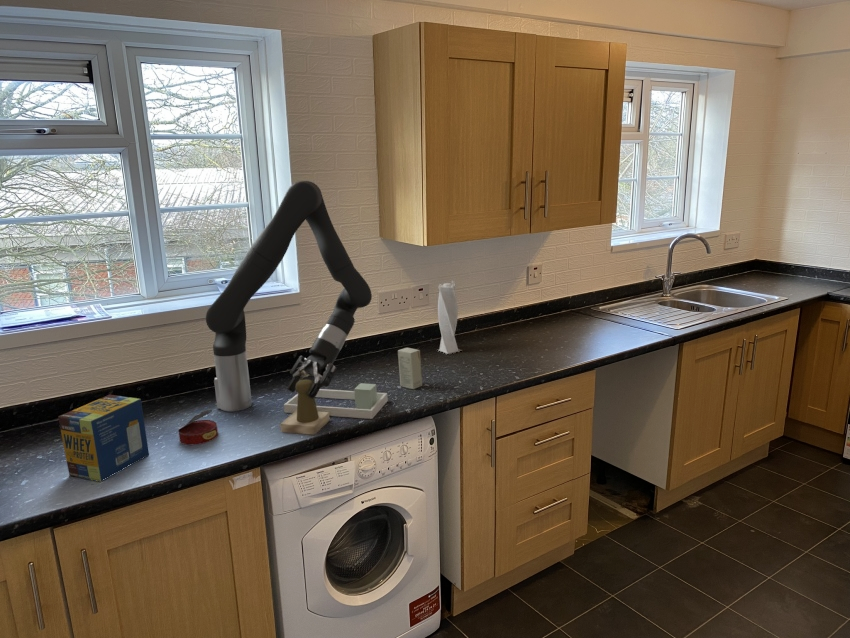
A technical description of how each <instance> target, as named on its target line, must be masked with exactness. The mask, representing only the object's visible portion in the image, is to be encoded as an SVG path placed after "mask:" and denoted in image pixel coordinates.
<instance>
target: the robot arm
mask: <svg viewBox="0 0 850 638" xmlns="http://www.w3.org/2000/svg"><path fill="white" fill-rule="evenodd" d="M325 203H326V202H325V200H324V197H323V193H322V191H321V189H320V187H319V186H318V184H315V182H312V181H309V180H301V181H296V182H294V183H293V184H291V185H290V186H289V187H288V189H287V190H286V192H285V194H284V196H283V198H282V200H281V202H280V205H279V206H278V208H277V209H276V211H275V213H274V215H273V216H272V218H271V220H270V221H269V222H268V223H267V225H266V226H265V227H264V228H263V230H261V232H260V233H259V234H258V236H257V238H256V239H255V240H254V242H253V243H252V244H251V246H250V247H249V249H248V250H247V252H246V253H245V254H244V256H243V258H242V260H241V261H240V262H239V265H238V266H237V268H236V270H235V271H234V273H233V275H232V277H231V279H230V281H229V282H228V284H227V286H226V287H225V288H224V290H222V292H221V294H219V296H218V297H217V298H216V299H215V301H214V302H213V303H212V304H211V305H210V306H209V307H208V309H207V311H206V313H205V323H206V325H207V327H208V328H209V330H211V332H213V333H215V334H214V335H215V336H214V337H215V338H214V341H213V344H212V345H213V346H212V349H213V350H212V351H213V358H214V359H213V360H214V367H215V375H216V377H214V380H213V383H214V389H215V390H214V391H215V400H216V406H217V409H220V410H222V411H224V412H238V411H242V410H246V409H248V408H250V407H251V406H252V395H251V394H252V393H251V385H250V384H251V383H250V374H249V367H248V358H247V349H246V348H247V347H246V343H247V325H246V315H245V311H244V310H245V307H246V306H247V304H248V303H249V302H250V300H251V298H252V297H254V295H255V294H256V293H258V291H259V290H260V289H261V288H262V287H263V286H264V285H265V283H267V282H268V280H270V278H271V276H273V274H274V273H275V271H276V270H277V268H278V267H279V265H280V263H282V261H283V259H284V257H285V255H286V253H287V251H288V249H289V247H290V244H291V242H292V240H293V237H294V236H295V233H296V232H297V231H298V230H299V228H300V227H301V226H302V224H303V223H304V222H305V221H306V223H307V224H308V226H309V227H310V230H311V231H312V233H313V235H314V238H315V240H316V241H315V242H316V244H317V247H318V249H319V253H320V255H321V257H322V260H323V262H324V264H325V266H326V268H327V270H328V271H329V273H330V276H331V277H332V278H333V280H334V281H335V282H339V283H340V284H341V286H343V289H342V290H341V291H340V293H339V295H338V297H337V299H336V302H335V304H334V307H333V311H332V313H331V314H330V316H329V318H328V320H327V321H326V323H325V325H324V326H323V328H321V330H320V332H319V333H318V335H317V336H316V337H315V340H314V342H313V343H312V345H311V347H310V349H309V356H308V357H307V358H306V357H304V356H303V355H300V356H299V357H298V358H297V360H296V361H295V363H294V364H293V366H292V367H291V369H290V371H289V374H290V375H292V379H290V381H289V384H288V386H287V391H289V392H291V393H295V391H296V388H295V386H296V383H297V382H298V381H300V380H304V378H308V377H309V376H310V377H314V383H313V385H312V387H311V388H310V390H309V392H308V394H307V396H308V397H310V398H312V399H314V398H316V397H315V396H316V395H317V393H318V391H319V390H320V389H322V388H323V387H329V385H330V383H331V381H332V379H333V378H334V375H335V373H336V372H337V367H336V365H334V362H335V361H336V359H337V358H338V355H339V353H340V351H341V350H342V348H343V346H344V345H345V342H346V339H347V337H348V335H349V334H350V332H351V330H352V328H353V327H354V324H355V320H356V319H355V313H356V311H357V310H358V309H362V308H365V307H367V306H368V305H369V304H370V303H371V302H372V297H373V296H372V290H371V287H370V286H369V284H368V282H367V281H366V280H365V278H363V276H362V275H361V273H360V272H359V271H358V270H357V269H356V268H355V266H354V263H353V262H352V260H351V257H350V256H349V254H348V251H347V250H346V248H345V247H344V244H343V243H342V240H341V239H340V236H339V235H338V233H337V231H336V229H335V227H334V224H333V222H332V220H331V217H330V216H329V212H328V210H327V207H326V204H325Z"/></svg>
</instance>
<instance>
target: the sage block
mask: <svg viewBox="0 0 850 638" xmlns="http://www.w3.org/2000/svg"><path fill="white" fill-rule="evenodd" d="M353 391H354V393H355V400H354V404H355V405H354V406H355V407H354V408H355V409H369V410H370V409H371V408H372V407H373V406H374V405H375V404H376V403H377V393H378V391H377V384H376V383H365V382H364V383H362V382H361V383H359V384H358V385H357V386H356V387H355V388H354V390H353Z"/></svg>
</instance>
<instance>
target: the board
mask: <svg viewBox="0 0 850 638" xmlns="http://www.w3.org/2000/svg"><path fill="white" fill-rule="evenodd" d="M317 412H318V411H317ZM318 416H319V418H318V419H317V420H316V421H313V422H308V423H302V422H298V421H297V410H296V411H295V412H294V413H290V415H289V416H288V417H286V418H285V419H284V420H283V421H282V422H281V423H280V425H279V426H280V433H288V434H290V433H291V434H303V435H313V436H315V435H316V434H317V433H318V432H319V431H320V430H321V429H322V428H323V427H325V426H326V424H328V422H330V420H331V419H330V418H331V417H330V416H329V412H318Z"/></svg>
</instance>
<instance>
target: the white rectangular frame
mask: <svg viewBox="0 0 850 638" xmlns="http://www.w3.org/2000/svg"><path fill="white" fill-rule="evenodd" d="M314 398H319V399H320V398H323V399H336V400H337V399H339V400H350V401H351V400H352V401H355V393H354V390H343V389H342V390H340V389H327V388H326V389H325V388H324V389H323V388H320V390H319V391H318V393H317V395H316V396H315V397H314ZM387 402H388V393H387V392H377V403H376V404H375V405H374V406H373V407H372V408H371V409H370V410H369V409H356V408H355V407H354V408H353V407H352V408H351V407H340V406H339V407H338V406H324V405H323V406H322V405H316V407H317V411H318V412H329V417H339V418H341V417H342V418H356V419H369V420H373V419H374V417H375V416H376V415H377V414H378V413H379V412H380V411H381V409H382V408H383V407H384V406H385V405H386V404H387ZM297 404H298V393H297V394H295V395H294V396H293V397H292V398H290V399H289V400H288V401H287V402H285V403H284V404H283V411H284V413H286V414H293V413H294V412H295V411H296V410H297Z"/></svg>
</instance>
